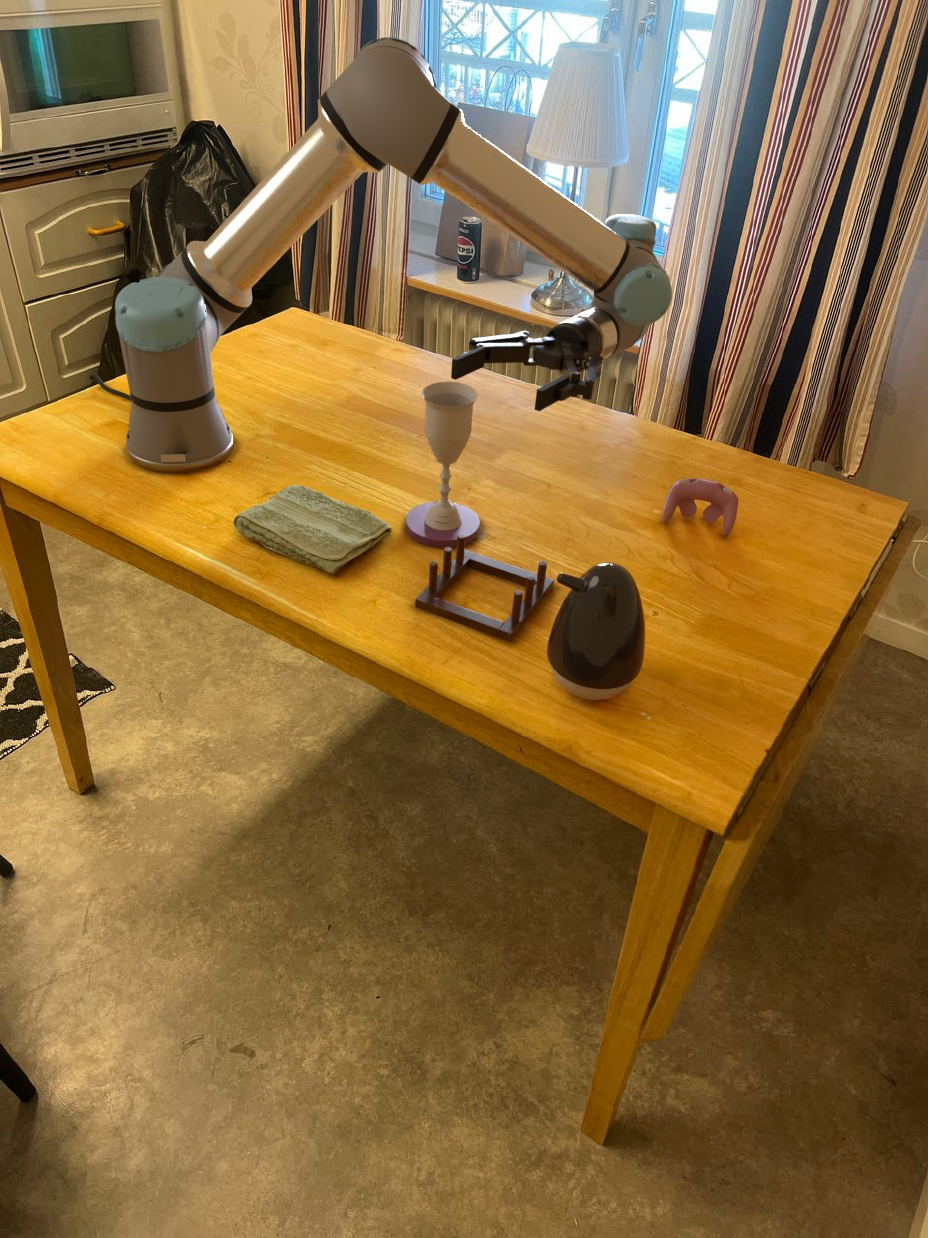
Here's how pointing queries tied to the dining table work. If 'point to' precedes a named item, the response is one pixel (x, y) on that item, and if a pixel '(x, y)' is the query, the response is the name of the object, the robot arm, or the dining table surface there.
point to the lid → (441, 538)
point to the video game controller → (704, 490)
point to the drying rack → (534, 582)
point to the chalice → (447, 441)
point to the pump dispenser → (598, 633)
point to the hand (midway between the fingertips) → (494, 384)
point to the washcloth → (311, 527)
